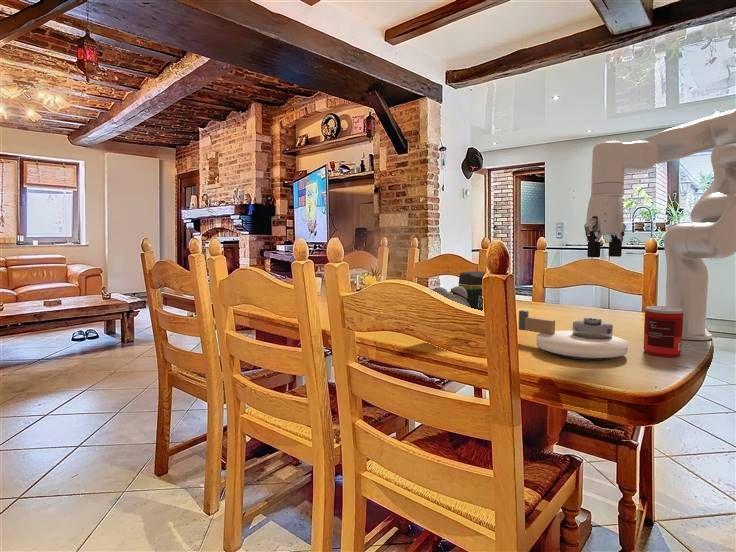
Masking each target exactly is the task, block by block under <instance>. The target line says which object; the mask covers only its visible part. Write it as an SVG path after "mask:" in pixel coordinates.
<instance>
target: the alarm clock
mask: <svg viewBox="0 0 736 552" xmlns="http://www.w3.org/2000/svg"><path fill="white" fill-rule="evenodd" d="M432 291H435V292H437V293H439V294H441V295H443V296H444V297H446V298H448V299H450V300H452V301H455V302H457V303H460V304H463V305H466V306H468V307H470V305H469V303H468V302H467V300H466V299H467V297H468V294H467V291H466V290H465V289H464V287H463V286H461V287H460V286H459V285H458V286H454V287H451V288H450V292H448V290H447V289H446V288H445V287H442V286H441V287H440V286H439V287H438V286H437V287H435V288H433V290H432Z"/></svg>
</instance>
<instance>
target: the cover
mask: <svg viewBox="0 0 736 552" xmlns="http://www.w3.org/2000/svg"><path fill="white" fill-rule="evenodd" d="M613 328H614V325H613V324H612V323H610V322H606V321H602V319H601V318H598V317H584V318H583V320H575V321H573V322H572V330H571V331H572V334H573V335H574V336H576V337H580V338H586V339H611V338H612V336H613V334H614V332H613V330H614V329H613Z"/></svg>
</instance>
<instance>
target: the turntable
mask: <svg viewBox="0 0 736 552" xmlns="http://www.w3.org/2000/svg"><path fill="white" fill-rule="evenodd" d="M518 330H520V331H526V332H532V333H533V332H534V333H538V334H536V339H535V340H536V347H538V348H539V349H541V350H544V351H545V352H546V351H547V352H550V353H551V352H553V353H557V354H562V355H569V356H576V357H588V358H610V357H612V358H617V357H621V356H622V357H623V356H625V355H627V354H628V352H629V350H628V348H629V343H628V341H627V340H625V339H624V338H621V337H618V336H615V335H612V338H611V339H586V338H580V337H576V336H574V335H573V334H572V331H573V330H556V320H555V319H554V320H553V319H548V318H540V317H532V316H529V310H525V309H524V310H522V309H521V310H518ZM610 359H611V358H610Z"/></svg>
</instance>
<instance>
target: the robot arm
mask: <svg viewBox="0 0 736 552" xmlns="http://www.w3.org/2000/svg"><path fill="white" fill-rule="evenodd" d="M710 149H712V150H711V155H710V161H711V162H710V163H711V165H712V171H713V180H712V182H711V183H710V186H708V188H707V189H706V191H705V192H704V193H703V194H702V196H701V197H700V198H699V199H698V200H697V202H696V203H695V204H694V206H693V208H692V210H691V211H690V215H689V216H690V220H691V222H687V223H686V222H685V223H679V224H675V225H673V226H671V227H670V228H669V229H668V230H667V231H666V232H665V234H664V237H663V249H664V253H665V261H666V281H665V282H666V284H665V298H664V299H665V300H664V301H665V304H664V306H667V307H675V308H680V309H683V329H682V340H685V341H710V340H712V339H713V334H712V333H711V332H708V331H706V329H707V327H706V326H707V325H706V324H707V311H708V310H707V308H708V307H707V306H708V290H709V289H708V288H709V271H708V268H707V266H706V263H705V262H704V260H703V259H711V260H712V259H713V260H714V259H715V260H717V259H725V258H726V259H727V258H729V257H731V256H732V255H734V254H735V253H736V109H732V110H728V111H725V112H721V113H717V114H714V115H711V116H706V117H703V118H700V119H697V120H694V121H690V122H688V123H685V124H681V125H678V126H675V127H671V128H668V129H665V130H663V131H660V132H657V133H655V134H653V135H649V136H647V137H644V138H641V139H637V140H635V141H632V142H631V141H630V142H622V141H617V140H615V141H614V140H612V141H603V142H600V143H597V144H596V145H595V146H594V147H593V149H592V162H591V182H590V183H591V185H590V186H591V188H590V197H589V201H588V206H587V213H586V221H585V223H584V225H583V227H584V231H585V237H586V242H587V255H586V256H587V258H599V259H600V258H601V247H602V242H601V241H600V240H601V238H602V236H603V235H608V238H609V240H610V241H609V242H608V257H609V258H610V257H611V258H612V257H613V258H616V257H618V258H620V257H622V250H623V242H624V236H625V234H626V233H625V232H626V228H627V226H626V224H625V222H624V201H623V197H624V191H625V190H624V189H625V175H627V174H633V173H634V174H635V173H639V172H643V171H647V170H649V169H652V168H653V167H654V166H655V165H657V164H663V163H664V164H665V163H670V162H673V161H677V160H680V159H684V158H686V157H689V156H692V155H695V154H698V153H702V152H704V151H707V150H710Z"/></svg>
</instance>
